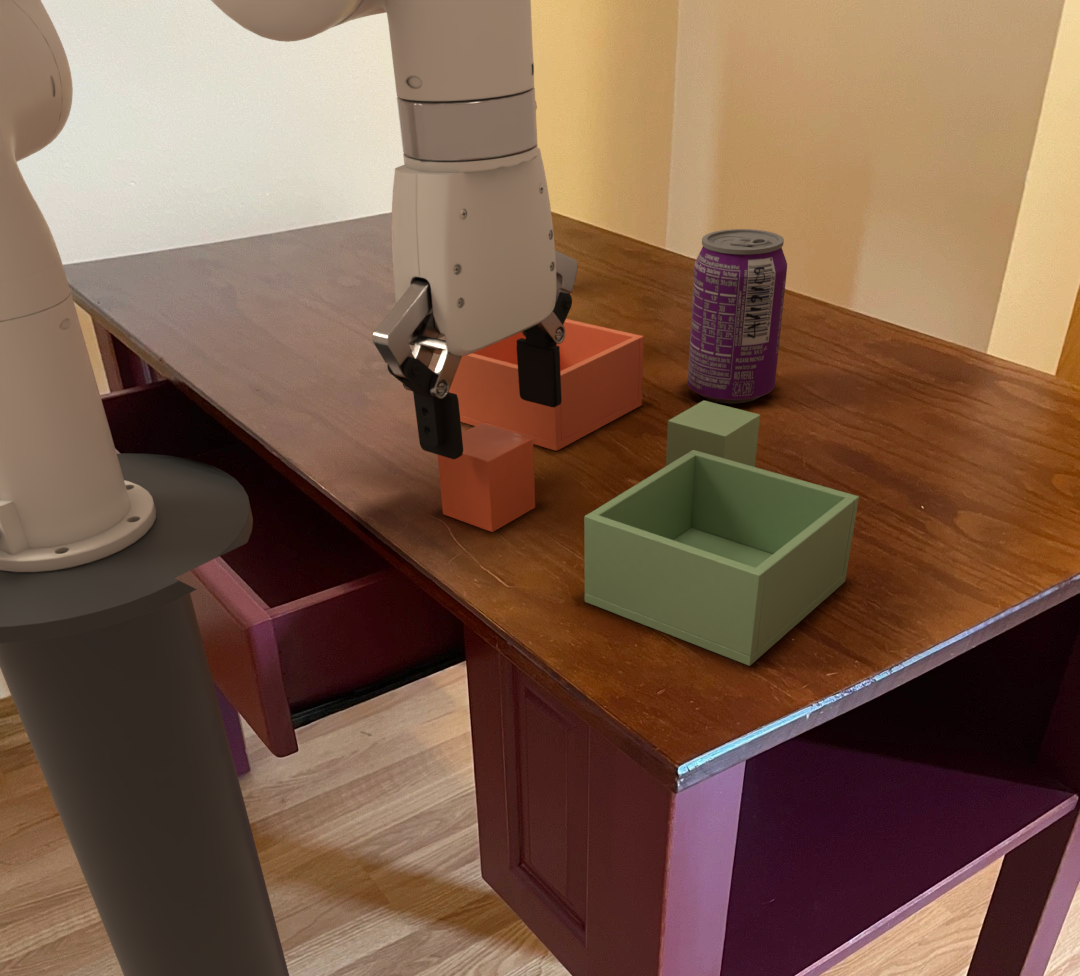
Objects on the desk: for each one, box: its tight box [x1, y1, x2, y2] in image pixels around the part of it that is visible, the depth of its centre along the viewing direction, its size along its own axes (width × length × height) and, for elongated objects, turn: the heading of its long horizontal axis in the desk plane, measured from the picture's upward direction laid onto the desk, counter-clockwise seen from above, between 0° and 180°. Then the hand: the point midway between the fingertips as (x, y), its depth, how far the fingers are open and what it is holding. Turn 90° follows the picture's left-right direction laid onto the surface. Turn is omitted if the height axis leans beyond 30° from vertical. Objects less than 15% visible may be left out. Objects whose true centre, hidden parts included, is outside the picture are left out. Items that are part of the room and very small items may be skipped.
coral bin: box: [449, 318, 645, 452], centre depth 86 cm, size 11×11×6 cm
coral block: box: [437, 423, 536, 533], centre depth 72 cm, size 4×4×5 cm
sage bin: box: [583, 450, 860, 667], centre depth 63 cm, size 11×11×6 cm
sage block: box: [665, 400, 761, 467], centre depth 74 cm, size 4×4×5 cm
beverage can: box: [687, 228, 788, 405], centre depth 86 cm, size 7×7×12 cm
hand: (493, 426), depth 70 cm, fingers open, 9 cm apart
